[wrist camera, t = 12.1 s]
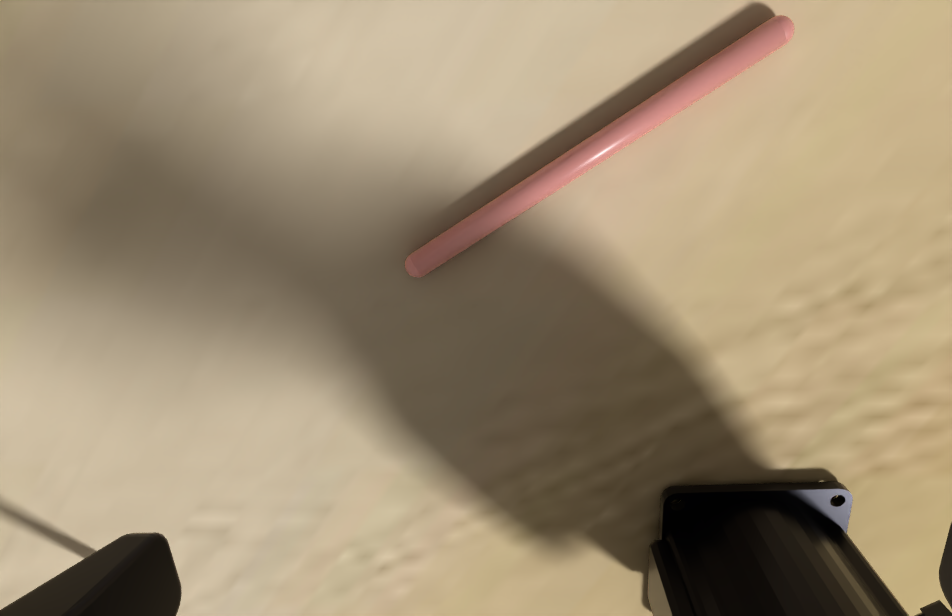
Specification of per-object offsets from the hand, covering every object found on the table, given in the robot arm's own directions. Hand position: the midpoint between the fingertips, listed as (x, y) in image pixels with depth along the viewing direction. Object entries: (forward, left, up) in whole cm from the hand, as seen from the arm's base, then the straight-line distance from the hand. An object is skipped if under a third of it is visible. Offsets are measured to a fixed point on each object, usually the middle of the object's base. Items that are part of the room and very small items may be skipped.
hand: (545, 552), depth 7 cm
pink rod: (-2, -3, -13) cm, 13 cm away
